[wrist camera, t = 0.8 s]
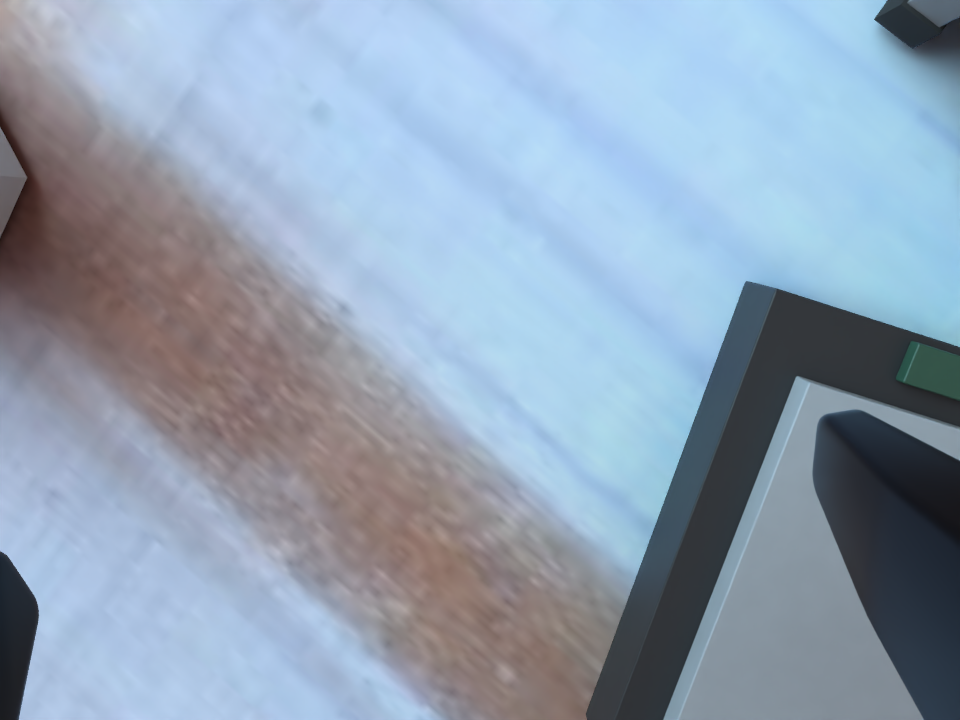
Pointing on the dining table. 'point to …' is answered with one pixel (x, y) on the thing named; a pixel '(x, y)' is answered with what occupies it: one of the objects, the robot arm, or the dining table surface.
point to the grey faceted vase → (9, 180)
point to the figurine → (917, 18)
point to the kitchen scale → (772, 528)
